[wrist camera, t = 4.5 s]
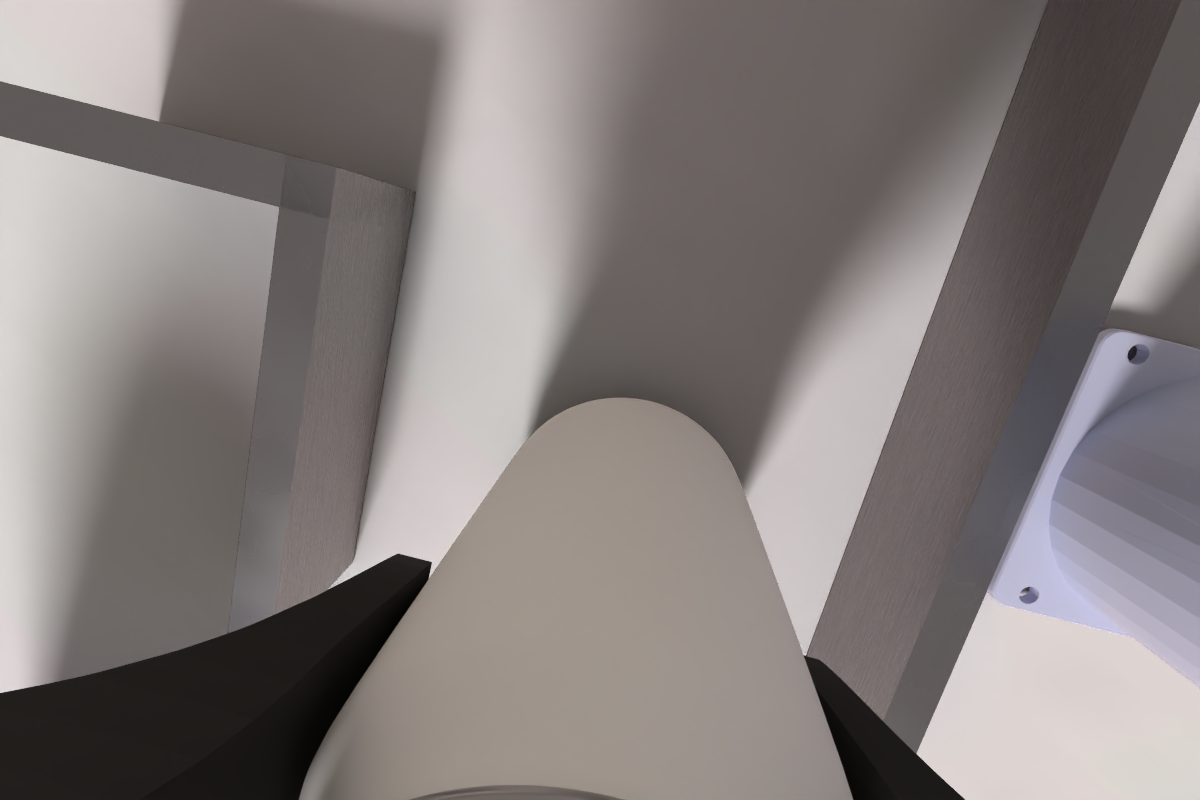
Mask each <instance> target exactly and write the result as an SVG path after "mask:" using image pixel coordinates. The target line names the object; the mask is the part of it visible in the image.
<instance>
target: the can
mask: <svg viewBox="0 0 1200 800" xmlns="http://www.w3.org/2000/svg"><path fill="white" fill-rule="evenodd" d="M299 800H853V797H852V794H851V791H850V788H849V785H848V782H847V779H846V775H845V772H844V769H843V766H842V763H841V760H840V757H839V755H838V752H837V749H836V746H835V743H834V740H833V737H832V734H831V732H830V729H829V726H828V723H827V720H826V717H825V714H824V712H823V709H822V706H821V703H820V700H819V697H818V695H817V692H816V689H815V686H814V683H813V681H812V678H811V675H810V672H809V669H808V667H807V664H806V661H805V658H804V655H803V653H802V650H801V647H800V644H799V641H798V639H797V636H796V633H795V630H794V627H793V625H792V622H791V619H790V616H789V614H788V611H787V608H786V605H785V603H784V600H783V597H782V594H781V592H780V589H779V586H778V583H777V580H776V578H775V575H774V572H773V569H772V567H771V564H770V561H769V558H768V556H767V553H766V550H765V548H764V545H763V542H762V539H761V537H760V534H759V531H758V528H757V526H756V523H755V520H754V518H753V515H752V512H751V510H750V507H749V504H748V501H747V499H746V496H745V494H744V491H743V488H742V486H741V483H740V481H739V478H738V476H737V474H736V472H735V469H734V467H733V465H732V463H731V462H730V460H729V458H728V457H727V455H726V453H725V452H724V451H723V449H722V448H721V446H720V445H719V444H718V443H717V441H716V440H715V439H714V438H713V437H712V436H711V435H710V434H709V433H708V432H707V431H706V430H705V429H704V428H702V427H701V426H700V425H699V424H697V423H696V422H695V421H693V420H692V419H690V418H689V417H687V416H686V415H684V414H682V413H680V412H678V411H676V410H674V409H672V408H670V407H667V406H664V405H662V404H659V403H655V402H652V401H647V400H642V399H635V398H605V399H598V400H593V401H589V402H585V403H582V404H579V405H576V406H573V407H571V408H569V409H567V410H565V411H563V412H561V413H559V414H557V415H556V416H554V417H552V418H551V419H549V420H548V421H547V422H545V423H544V424H543V425H542V426H541V427H539V428H538V429H537V430H536V431H535V432H534V433H533V434H532V435H531V436H530V437H529V438H528V439H527V441H526V442H525V443H524V444H523V446H522V447H521V448H520V449H519V451H518V452H517V453H516V455H515V456H514V458H513V459H512V460H511V462H510V463H509V464H508V466H507V467H506V469H505V470H504V472H503V473H502V474H501V476H500V477H499V479H498V480H497V481H496V483H495V484H494V486H493V487H492V489H491V490H490V491H489V493H488V494H487V496H486V497H485V499H484V500H483V502H482V503H481V504H480V506H479V507H478V509H477V510H476V512H475V513H474V514H473V516H472V517H471V519H470V520H469V522H468V523H467V525H466V526H465V527H464V529H463V530H462V532H461V533H460V535H459V536H458V538H457V539H456V540H455V542H454V543H453V545H452V546H451V548H450V549H449V551H448V552H447V553H446V555H445V556H444V558H443V559H442V561H441V562H440V564H439V565H438V567H437V568H436V569H435V571H434V572H433V574H432V575H431V577H430V578H429V580H428V581H427V582H426V584H425V585H424V587H423V588H422V590H421V591H420V593H419V594H418V596H417V597H416V599H415V600H414V601H413V603H412V604H411V606H410V607H409V609H408V610H407V612H406V613H405V615H404V616H403V618H402V619H401V620H400V622H399V623H398V625H397V626H396V628H395V629H394V631H393V632H392V634H391V635H390V636H389V638H388V639H387V641H386V642H385V644H384V645H383V647H382V648H381V650H380V651H379V653H378V654H377V656H376V657H375V659H374V660H373V662H372V663H371V665H370V666H369V668H368V669H367V671H366V672H365V674H364V675H363V677H362V678H361V680H360V681H359V682H358V684H357V685H356V687H355V689H354V690H353V692H352V693H351V695H350V696H349V698H348V700H347V701H346V703H345V704H344V706H343V707H342V709H341V711H340V712H339V714H338V715H337V717H336V718H335V720H334V722H333V723H332V725H331V727H330V728H329V730H328V732H327V734H326V735H325V737H324V739H323V741H322V743H321V745H320V747H319V749H318V751H317V753H316V755H315V757H314V758H313V760H312V763H311V765H310V767H309V769H308V772H307V775H306V777H305V780H304V783H303V786H302V790H301V793H300V797H299Z"/></svg>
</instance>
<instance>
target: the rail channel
mask: <svg viewBox="0 0 1200 800" xmlns="http://www.w3.org/2000/svg"><path fill="white" fill-rule="evenodd" d="M1199 102H1200V0H1049V2H1048V5H1047V8H1046V10H1045V13H1044V16H1043V18H1042V21H1041V24H1040V26H1039V29H1038V32H1037V35H1036V37H1035V40H1034V43H1033V45H1032V48H1031V51H1030V54H1029V56H1028V59H1027V62H1026V64H1025V67H1024V70H1023V72H1022V75H1021V78H1020V81H1019V83H1018V86H1017V89H1016V91H1015V94H1014V97H1013V99H1012V102H1011V105H1010V108H1009V110H1008V113H1007V116H1006V118H1005V121H1004V124H1003V126H1002V129H1001V132H1000V135H999V137H998V140H997V143H996V145H995V148H994V151H993V153H992V156H991V159H990V162H989V164H988V167H987V170H986V172H985V175H984V178H983V180H982V183H981V186H980V189H979V191H978V194H977V197H976V199H975V202H974V205H973V207H972V210H971V213H970V216H969V218H968V221H967V224H966V226H965V229H964V232H963V235H962V237H961V240H960V243H959V245H958V248H957V251H956V253H955V256H954V259H953V262H952V264H951V267H950V270H949V272H948V275H947V278H946V280H945V283H944V286H943V289H942V291H941V294H940V297H939V299H938V302H937V305H936V307H935V310H934V313H933V316H932V318H931V321H930V324H929V326H928V329H927V332H926V334H925V337H924V340H923V343H922V345H921V348H920V351H919V353H918V356H917V359H916V361H915V364H914V367H913V370H912V372H911V375H910V378H909V380H908V383H907V386H906V388H905V391H904V394H903V397H902V399H901V402H900V405H899V407H898V410H897V413H896V416H895V418H894V421H893V424H892V426H891V429H890V432H889V434H888V437H887V440H886V443H885V445H884V448H883V451H882V453H881V456H880V459H879V461H878V464H877V467H876V470H875V472H874V475H873V478H872V480H871V483H870V486H869V488H868V491H867V494H866V497H865V499H864V502H863V505H862V507H861V510H860V513H859V515H858V518H857V521H856V524H855V526H854V529H853V532H852V534H851V537H850V540H849V542H848V545H847V548H846V551H845V553H844V556H843V559H842V561H841V564H840V567H839V570H838V572H837V575H836V578H835V580H834V583H833V586H832V588H831V591H830V594H829V597H828V599H827V602H826V605H825V607H824V610H823V613H822V615H821V618H820V621H819V624H818V626H817V629H816V632H815V634H814V637H813V640H812V642H811V645H810V648H809V651H808V653H807V656H808V657H811V658H815V659H819V660H821V661H822V662H823V663H824V664H825V665H827V666H828V667H829V668H830V669H831V670H832V671H833V672H834V673H835V674H836V675H837V676H838V677H840V678H841V679H842V680H843V681H844V682H845V683H846V684H847V685H848V686H849V687H850V688H851V689H852V690H853V691H854V692H855V693H856V694H857V695H858V696H859V697H860V698H861V699H862V700H863V701H864V702H865V703H866V704H867V705H868V706H869V707H870V708H871V709H872V710H873V711H874V712H875V713H876V715H877V716H878V717H879V718H880V719H881V720H882V721H883V722H884V723H885V724H886V725H887V726H888V727H889V728H890V729H891V730H892V731H893V732H894V733H895V734H896V735H897V736H898V737H899V738H900V739H901V740H902V741H903V742H904V743H905V744H906V745H907V746H908V747H910V748H911V749H912V750H913V751H914V752H915V753H917V751H918V748H919V746H920V744H921V741H922V739H923V737H924V735H925V732H926V730H927V728H928V725H929V723H930V721H931V719H932V716H933V714H934V712H935V709H936V707H937V705H938V702H939V700H940V698H941V696H942V693H943V691H944V689H945V686H946V684H947V682H948V679H949V677H950V675H951V673H952V670H953V668H954V666H955V663H956V661H957V659H958V656H959V654H960V652H961V650H962V647H963V645H964V643H965V640H966V638H967V636H968V633H969V631H970V629H971V627H972V624H973V622H974V620H975V617H976V615H977V613H978V610H979V608H980V606H981V604H982V601H983V599H984V597H985V594H986V592H987V590H988V587H989V585H990V583H991V581H992V578H993V576H994V574H995V571H996V569H997V567H998V565H999V562H1000V560H1001V558H1002V555H1003V553H1004V551H1005V548H1006V546H1007V544H1008V542H1009V539H1010V537H1011V535H1012V532H1013V530H1014V528H1015V525H1016V523H1017V521H1018V519H1019V516H1020V514H1021V512H1022V509H1023V507H1024V505H1025V502H1026V500H1027V498H1028V496H1029V493H1030V491H1031V489H1032V486H1033V484H1034V482H1035V479H1036V477H1037V475H1038V473H1039V470H1040V468H1041V466H1042V463H1043V461H1044V459H1045V456H1046V454H1047V452H1048V450H1049V447H1050V445H1051V443H1052V440H1053V438H1054V436H1055V433H1056V431H1057V429H1058V427H1059V424H1060V422H1061V420H1062V417H1063V415H1064V413H1065V410H1066V408H1067V406H1068V404H1069V401H1070V399H1071V397H1072V394H1073V392H1074V390H1075V388H1076V385H1077V383H1078V381H1079V378H1080V376H1081V374H1082V371H1083V369H1084V367H1085V365H1086V362H1087V360H1088V358H1089V355H1090V353H1091V351H1092V348H1093V346H1094V344H1095V342H1096V339H1097V337H1098V335H1099V332H1100V330H1101V328H1102V325H1103V323H1104V321H1105V319H1106V316H1107V314H1108V312H1109V309H1110V307H1111V305H1112V302H1113V300H1114V298H1115V296H1116V293H1117V291H1118V289H1119V286H1120V284H1121V282H1122V279H1123V277H1124V275H1125V273H1126V270H1127V268H1128V266H1129V263H1130V261H1131V259H1132V256H1133V254H1134V252H1135V250H1136V247H1137V245H1138V243H1139V240H1140V238H1141V236H1142V234H1143V231H1144V229H1145V227H1146V224H1147V222H1148V220H1149V217H1150V215H1151V213H1152V211H1153V208H1154V206H1155V204H1156V201H1157V199H1158V197H1159V194H1160V192H1161V190H1162V188H1163V185H1164V183H1165V181H1166V178H1167V176H1168V174H1169V171H1170V169H1171V167H1172V165H1173V162H1174V160H1175V158H1176V155H1177V153H1178V151H1179V148H1180V146H1181V144H1182V142H1183V139H1184V137H1185V135H1186V132H1187V130H1188V128H1189V125H1190V123H1191V121H1192V119H1193V116H1194V114H1195V112H1196V109H1197V107H1198V105H1199ZM0 136H3V137H7V138H11V139H14V140H18V141H22V142H26V143H30V144H34V145H38V146H42V147H46V148H50V149H54V150H58V151H62V152H66V153H70V154H74V155H77V156H81V157H85V158H89V159H93V160H97V161H101V162H105V163H109V164H113V165H117V166H121V167H125V168H129V169H133V170H137V171H140V172H144V173H148V174H152V175H156V176H160V177H164V178H168V179H172V180H176V181H180V182H184V183H188V184H192V185H196V186H200V187H203V188H207V189H211V190H215V191H219V192H223V193H227V194H231V195H235V196H239V197H243V198H247V199H251V200H255V201H259V202H262V203H266V204H270V205H274V206H278V207H279V216H278V224H277V232H276V240H275V248H274V257H273V265H272V273H271V281H270V289H269V298H268V306H267V314H266V322H265V330H264V339H263V347H262V355H261V363H260V371H259V379H258V388H257V396H256V404H255V412H254V420H253V429H252V437H251V445H250V453H249V461H248V470H247V478H246V486H245V494H244V502H243V510H242V519H241V527H240V535H239V543H238V551H237V560H236V568H235V576H234V584H233V592H232V601H231V609H230V617H229V625H228V633H231V632H233V631H236V630H239V629H241V628H244V627H246V626H249V625H251V624H254V623H256V622H259V621H261V620H263V619H265V618H268V617H270V616H272V615H274V614H277V613H279V612H281V611H283V610H286V609H288V608H290V607H292V606H295V605H297V604H299V603H301V602H304V601H306V600H308V599H310V598H313V597H315V596H317V595H319V594H321V593H323V592H325V591H327V589H328V588H329V587H330V586H331V585H332V584H333V583H334V582H335V581H336V580H337V579H338V578H339V576H340V575H341V574H342V573H343V572H344V571H345V570H346V569H347V568H348V567H349V566H350V565H351V563H352V562H353V558H354V552H355V546H356V540H357V535H358V529H359V523H360V517H361V511H362V505H363V499H364V493H365V487H366V482H367V476H368V470H369V464H370V458H371V452H372V446H373V440H374V435H375V429H376V423H377V417H378V411H379V405H380V399H381V393H382V387H383V382H384V376H385V370H386V364H387V358H388V352H389V346H390V340H391V334H392V329H393V323H394V317H395V311H396V305H397V299H398V293H399V287H400V282H401V276H402V270H403V264H404V258H405V252H406V246H407V240H408V234H409V229H410V223H411V217H412V211H413V205H414V199H415V193H416V192H414V191H411V190H408V189H405V188H402V187H399V186H395V185H392V184H389V183H386V182H383V181H379V180H376V179H373V178H370V177H367V176H364V175H360V174H357V173H354V172H351V171H348V170H345V169H341V168H338V167H335V166H331V165H327V164H323V163H319V162H315V161H311V160H307V159H303V158H299V157H295V156H291V155H287V154H284V153H280V152H276V151H272V150H268V149H264V148H260V147H256V146H252V145H248V144H244V143H240V142H236V141H232V140H229V139H225V138H221V137H217V136H213V135H209V134H205V133H201V132H197V131H193V130H189V129H185V128H181V127H177V126H174V125H170V124H166V123H162V122H158V121H154V120H150V119H146V118H142V117H138V116H134V115H130V114H126V113H122V112H119V111H115V110H111V109H107V108H103V107H99V106H95V105H91V104H87V103H83V102H79V101H75V100H71V99H67V98H64V97H60V96H56V95H52V94H48V93H44V92H40V91H36V90H32V89H28V88H24V87H20V86H16V85H12V84H9V83H5V82H1V81H0ZM228 633H227V634H228Z"/></svg>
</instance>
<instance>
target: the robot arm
mask: <svg viewBox="0 0 1200 800" xmlns="http://www.w3.org/2000/svg"><path fill="white" fill-rule="evenodd" d="M1133 346H1136V348H1137V353H1136V356H1135V357H1134V358H1133V359H1132V360H1130V361H1129V360H1128V358H1127V356H1128V351H1129V350H1130V349H1131V347H1133ZM431 564H432V562H429V561H425V560H421V559H417V558H413V557H409V556H405V555H401V554H396V555H394V556H392V557H390V558H388V559H386V560H384V561H382V562H381V563H379V564H377V565H375V566H373V567H371V568H369V569H367V570H365V571H364V572H362V573H360V574H358V575H356V576H354V577H352V578H350V579H348V580H346V581H344V582H342V583H340V584H338V585H336V586H335V587H333V588H331V589H329V590H327V591H325V592H323V593H321V594H319V595H317V596H315V597H313V598H310V599H308V600H306V601H304V602H301V603H299V604H297V605H295V606H292V607H290V608H288V609H286V610H283V611H281V612H279V613H277V614H274V615H272V616H270V617H268V618H265V619H263V620H261V621H259V622H256V623H254V624H251V625H249V626H246V627H244V628H241V629H239V630H236V631H233V632H231V633H228V634H225V635H222V636H220V637H217V638H214V639H211V640H208V641H205V642H202V643H199V644H196V645H193V646H190V647H187V648H184V649H181V650H178V651H175V652H171V653H168V654H164V655H161V656H157V657H153V658H150V659H146V660H142V661H139V662H135V663H131V664H128V665H124V666H120V667H117V668H113V669H110V670H106V671H102V672H98V673H94V674H90V675H86V676H81V677H77V678H72V679H68V680H63V681H59V682H54V683H50V684H45V685H40V686H35V687H30V688H25V689H19V690H14V691H9V692H4V693H0V800H299V797H300V793H301V790H302V786H303V783H304V780H305V777H306V775H307V772H308V769H309V767H310V765H311V763H312V760H313V758H314V757H315V755H316V753H317V751H318V749H319V747H320V745H321V743H322V741H323V739H324V737H325V735H326V734H327V732H328V730H329V728H330V727H331V725H332V723H333V722H334V720H335V718H336V717H337V715H338V714H339V712H340V711H341V709H342V707H343V706H344V704H345V703H346V701H347V700H348V698H349V696H350V695H351V693H352V692H353V690H354V689H355V687H356V685H357V684H358V682H359V681H360V680H361V678H362V677H363V675H364V674H365V672H366V671H367V669H368V668H369V666H370V665H371V663H372V662H373V660H374V659H375V657H376V656H377V654H378V653H379V651H380V650H381V648H382V647H383V645H384V644H385V642H386V641H387V639H388V638H389V636H390V635H391V634H392V632H393V631H394V629H395V628H396V626H397V625H398V623H399V622H400V620H401V619H402V618H403V616H404V615H405V613H406V612H407V610H408V609H409V607H410V606H411V604H412V603H413V601H414V600H415V599H416V597H417V596H418V594H419V593H420V591H421V590H422V588H423V587H424V585H425V584H426V582H427V581H428V579H429V574H430V569H431ZM1026 587H1030V590H1029V592H1028V593H1027V594H1026V595H1023V596H1020V592H1021V591H1022V590H1023V589H1024V588H1026ZM987 591H988V593H989V594H990V596H991V597H992V598H993V599H994V600H995V601H997V602H998V603H999V604H1002V605H1004V606H1008V607H1012V608H1015V609H1019V610H1023V611H1027V612H1031V613H1035V614H1039V615H1043V616H1047V617H1051V618H1055V619H1059V620H1063V621H1067V622H1071V623H1075V624H1079V625H1083V626H1087V627H1091V628H1095V629H1099V630H1103V631H1107V632H1111V633H1115V634H1119V635H1123V636H1127V637H1131V638H1134V639H1135V640H1136V641H1138V642H1139V643H1140V644H1142V645H1143V646H1144V647H1146V648H1147V649H1148V650H1150V651H1151V652H1152V653H1153V654H1155V655H1156V656H1157V657H1159V658H1160V659H1161V660H1163V661H1164V662H1165V663H1167V664H1168V665H1169V666H1171V667H1172V668H1173V669H1175V670H1176V671H1177V672H1179V673H1180V674H1181V675H1183V676H1184V677H1185V678H1187V679H1188V680H1189V681H1191V682H1192V683H1193V684H1195V685H1196V686H1197V687H1199V688H1200V349H1198V348H1194V347H1190V346H1186V345H1182V344H1179V343H1175V342H1171V341H1167V340H1163V339H1159V338H1155V337H1151V336H1147V335H1143V334H1139V333H1135V332H1131V331H1128V330H1121V329H1107V330H1103V331H1101V332H1100V333H1099V335H1098V337H1097V339H1096V342H1095V344H1094V346H1093V348H1092V351H1091V353H1090V355H1089V358H1088V360H1087V362H1086V365H1085V367H1084V369H1083V371H1082V374H1081V376H1080V378H1079V381H1078V383H1077V385H1076V388H1075V390H1074V392H1073V394H1072V397H1071V399H1070V401H1069V404H1068V406H1067V408H1066V410H1065V413H1064V415H1063V417H1062V420H1061V422H1060V424H1059V427H1058V429H1057V431H1056V433H1055V436H1054V438H1053V440H1052V443H1051V445H1050V447H1049V450H1048V452H1047V454H1046V456H1045V459H1044V461H1043V463H1042V466H1041V468H1040V470H1039V473H1038V475H1037V477H1036V479H1035V482H1034V484H1033V486H1032V489H1031V491H1030V493H1029V496H1028V498H1027V500H1026V502H1025V505H1024V507H1023V509H1022V512H1021V514H1020V516H1019V519H1018V521H1017V523H1016V525H1015V528H1014V530H1013V532H1012V535H1011V537H1010V539H1009V542H1008V544H1007V546H1006V548H1005V551H1004V553H1003V555H1002V558H1001V560H1000V562H999V565H998V567H997V569H996V571H995V574H994V576H993V578H992V581H991V583H990V585H989V587H988V590H987ZM804 658H805V661H806V664H807V667H808V669H809V672H810V675H811V678H812V681H813V683H814V686H815V689H816V692H817V695H818V697H819V700H820V703H821V706H822V709H823V712H824V714H825V717H826V720H827V723H828V726H829V729H830V732H831V734H832V737H833V740H834V743H835V746H836V749H837V752H838V755H839V757H840V760H841V763H842V766H843V769H844V772H845V775H846V779H847V782H848V785H849V788H850V791H851V794H852V797H853V800H965V799H964V798H963V797H962V796H960V795H959V794H958V793H957V792H956V791H955V790H954V789H953V788H952V787H951V786H950V785H948V784H947V783H946V782H945V781H944V780H943V779H942V778H941V777H940V776H939V775H938V774H936V773H935V772H934V771H933V770H932V769H931V768H930V767H929V766H928V765H927V764H926V763H925V762H924V761H923V760H922V759H921V758H920V757H919V756H918V755H917V754H916V753H915V752H914V751H913V750H912V749H911V748H910V747H908V746H907V745H906V744H905V743H904V742H903V741H902V740H901V739H900V738H899V737H898V736H897V735H896V734H895V733H894V732H893V731H892V730H891V729H890V728H889V727H888V726H887V725H886V724H885V723H884V722H883V721H882V720H881V719H880V718H879V717H878V716H877V715H876V713H875V712H874V711H873V710H872V709H871V708H870V707H869V706H868V705H867V704H866V703H865V702H864V701H863V700H862V699H861V698H860V697H859V696H858V695H857V694H856V693H855V692H854V691H853V690H852V689H851V688H850V687H849V686H848V685H847V684H846V683H845V682H844V681H843V680H842V679H841V678H840V677H838V676H837V675H836V674H835V673H834V672H833V671H832V670H831V669H830V668H829V667H828V666H827V665H825V664H824V663H823V662H822V661H821V660H819V659H815V658H811V657H808V656H804Z"/></svg>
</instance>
